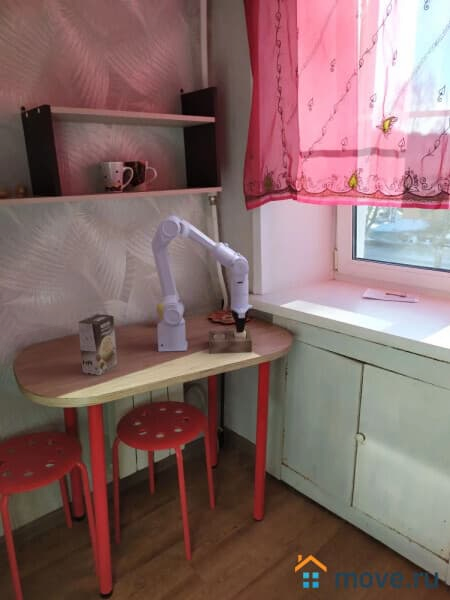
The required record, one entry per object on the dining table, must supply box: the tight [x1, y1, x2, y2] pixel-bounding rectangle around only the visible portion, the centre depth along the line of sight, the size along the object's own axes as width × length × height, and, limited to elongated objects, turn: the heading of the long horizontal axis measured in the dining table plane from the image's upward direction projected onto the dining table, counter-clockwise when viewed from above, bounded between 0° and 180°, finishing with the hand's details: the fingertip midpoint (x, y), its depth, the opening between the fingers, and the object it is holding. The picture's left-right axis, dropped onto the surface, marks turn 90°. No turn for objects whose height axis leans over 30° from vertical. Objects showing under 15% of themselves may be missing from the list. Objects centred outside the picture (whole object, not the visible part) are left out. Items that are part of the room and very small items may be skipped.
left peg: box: [213, 334, 225, 339], centre depth 157 cm, size 4×4×4 cm
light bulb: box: [155, 301, 164, 323], centre depth 178 cm, size 6×6×10 cm
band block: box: [208, 329, 253, 355], centre depth 158 cm, size 14×11×4 cm
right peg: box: [234, 329, 246, 338], centre depth 157 cm, size 4×4×4 cm
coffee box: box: [77, 313, 118, 376], centre depth 140 cm, size 9×6×16 cm
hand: (240, 332), depth 157 cm, fingers closed, pressing on right peg
